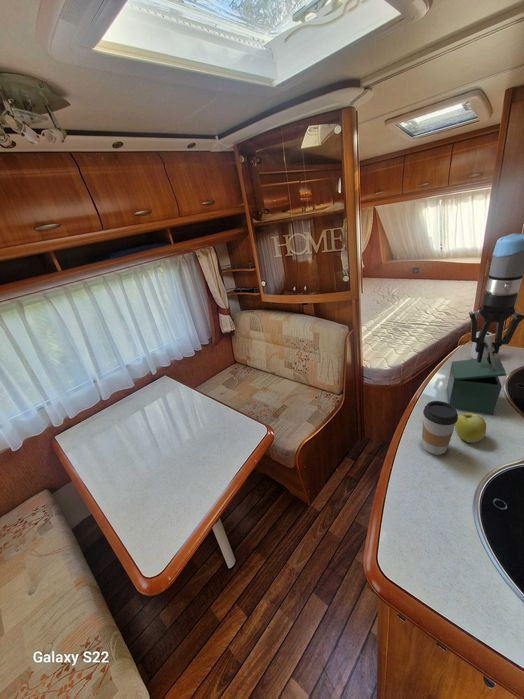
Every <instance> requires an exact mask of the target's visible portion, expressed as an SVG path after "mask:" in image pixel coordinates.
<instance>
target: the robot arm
mask: <svg viewBox="0 0 524 699" xmlns="http://www.w3.org/2000/svg"><path fill="white" fill-rule="evenodd" d="M523 277H524V233H522V232H517V233H516V232H515V233H510V234H508V235H504V236H501V237H499V238H498V239H497V241H496V243H495V245H494V249H493V252H492V258H491V263H490V269H489V273H488V277H487V281H486V285H485V292H484V294H483V298H482V303H481V306H480V307H479V308H478V310H475V311H469V312H468V316H469V318H470V340H471V342H472V343H473V342H475V343H476V348H475V350H476V352H477V353H478V356H477V361H478V363H481V360H482V356H483V352H484V348H485V344H484V342H483V341H484V338H485V336H486V333H487V332H489V328H490V326H491V324H492V323H496V327H495V335H494V341H492V344H493V347H494V349H495V350H494V351H493V352H492V353H493V356H494V355H497V354H499V351H500V349H501V347H502V345H509V344H510V342H511V340H512V338H513V336H514V335H515V332H516V330H517V329H518V326H519V324H520V323H521V322H522V321H523V320H524V313H523V312H518V311H516V309H515V308H516V303H517V300H518V296H519V295H518V292H519V291H520V288H521V284H522V280H523ZM480 315H481V317H482V319H483V321H482V322H483V323H482V324H481V327H480V330H479V331H480V333H479V335H478V338H477V337H476V332H478V331H477V329H478V328H477V327H478V326H477V325H478V321H477V319H478V318H479V316H480ZM509 318H512V319H511V320H510V323H509V325H508V326H507V329H506V331H505V333H504V335H503V332H504V326H505V321H507V320H508V319H509ZM487 361H488V363H489V364H491V359H490V354H488V358H487Z"/></svg>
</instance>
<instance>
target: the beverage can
mask: <svg viewBox="0 0 524 699" xmlns="http://www.w3.org/2000/svg"><path fill="white" fill-rule="evenodd" d="M479 333H480V330H479V331H476V337H477V338H478V335H479ZM486 336H488V337H490V339H491V342H493V340H494V334H493V333H492V332H490V331H487V333H486ZM475 348H476V343H475V342H472V346H471V350H470V354H469V355H470V357H471V359H477V356H478V353H477V352H476V350H475ZM486 357H488V352H487V351H486V348H484V352H483V356H482V358H486Z"/></svg>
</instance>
